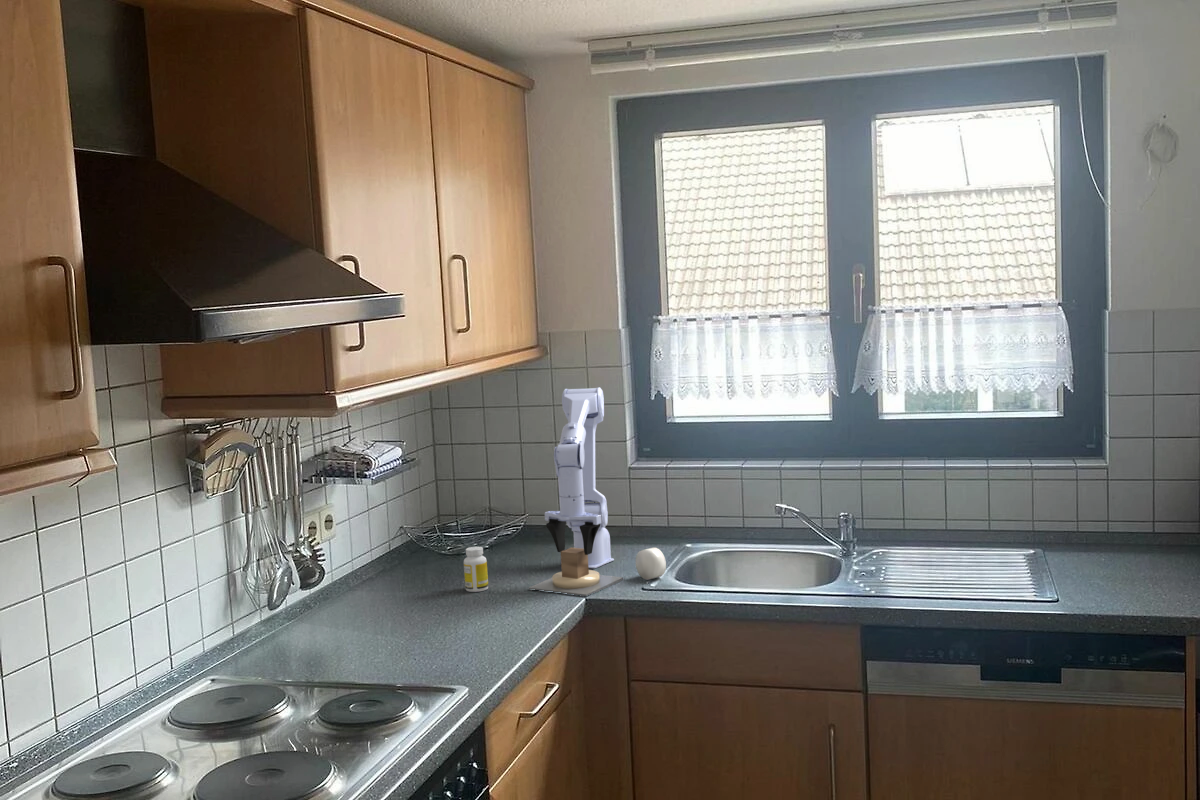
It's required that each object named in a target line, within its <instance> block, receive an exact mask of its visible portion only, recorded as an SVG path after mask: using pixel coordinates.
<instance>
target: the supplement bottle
mask: <svg viewBox="0 0 1200 800" xmlns="http://www.w3.org/2000/svg"><path fill="white" fill-rule="evenodd" d="M483 554H484V548H483V547H482V546H470V547H467V548H465V555H466V557H465V558H464V559H463V571H464V572H463V574H464V585H465V587H464V589H465V590H466V592H469V593H470V592H471V593H478V592H483V591H484V592H485V591H486V590H488V589H489V575H488V574H489V573H488V561H487V558H486V556H484V555H483Z"/></svg>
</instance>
